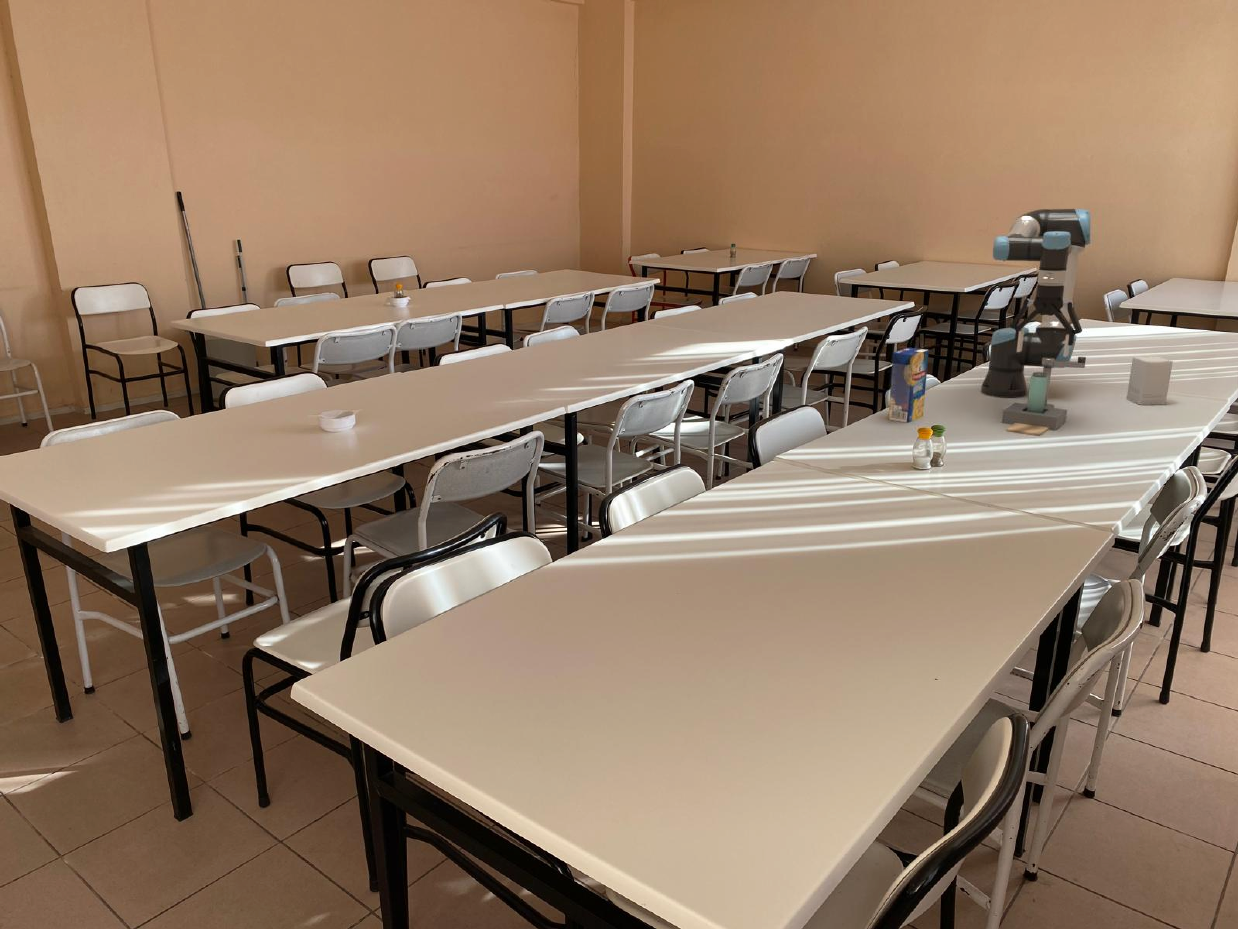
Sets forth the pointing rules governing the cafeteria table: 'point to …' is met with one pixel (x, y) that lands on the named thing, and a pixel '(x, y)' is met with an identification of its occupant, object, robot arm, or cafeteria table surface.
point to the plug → (1037, 392)
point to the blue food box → (908, 384)
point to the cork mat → (1027, 429)
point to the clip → (1064, 363)
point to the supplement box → (1149, 380)
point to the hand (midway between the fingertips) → (1042, 353)
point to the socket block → (1047, 419)
